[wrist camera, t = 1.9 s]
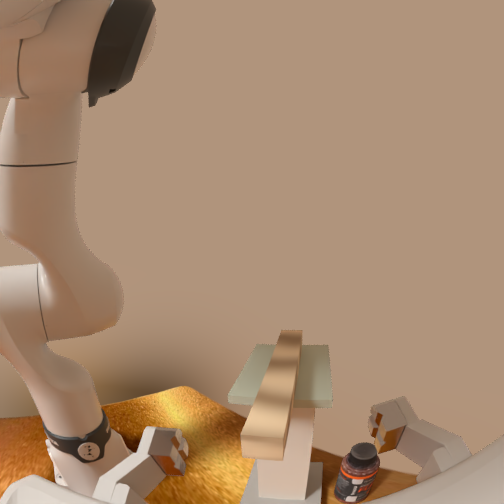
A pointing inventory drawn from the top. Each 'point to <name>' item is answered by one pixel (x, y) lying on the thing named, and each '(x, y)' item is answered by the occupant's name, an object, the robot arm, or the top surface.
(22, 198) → the robot arm
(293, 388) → the baton
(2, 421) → the top surface
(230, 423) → the top surface
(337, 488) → the supplement bottle
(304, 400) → the stand
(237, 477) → the top surface
